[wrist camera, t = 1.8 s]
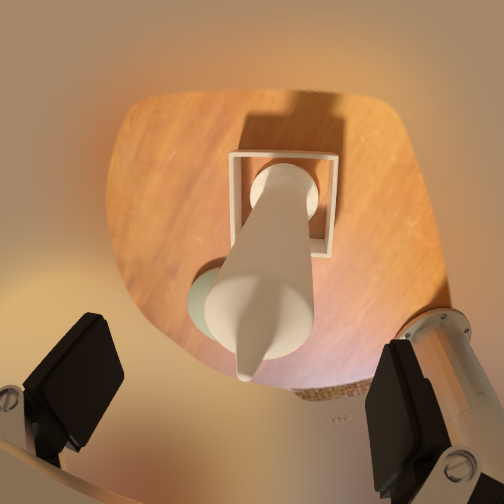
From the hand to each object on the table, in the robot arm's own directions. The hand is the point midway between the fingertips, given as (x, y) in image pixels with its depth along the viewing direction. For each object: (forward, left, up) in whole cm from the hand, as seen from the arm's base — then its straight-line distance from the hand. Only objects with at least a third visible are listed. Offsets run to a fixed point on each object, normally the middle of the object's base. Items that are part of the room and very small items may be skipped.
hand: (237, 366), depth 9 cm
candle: (0, 0, -25) cm, 25 cm away
